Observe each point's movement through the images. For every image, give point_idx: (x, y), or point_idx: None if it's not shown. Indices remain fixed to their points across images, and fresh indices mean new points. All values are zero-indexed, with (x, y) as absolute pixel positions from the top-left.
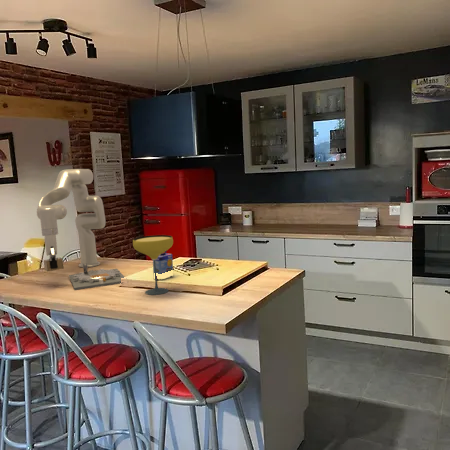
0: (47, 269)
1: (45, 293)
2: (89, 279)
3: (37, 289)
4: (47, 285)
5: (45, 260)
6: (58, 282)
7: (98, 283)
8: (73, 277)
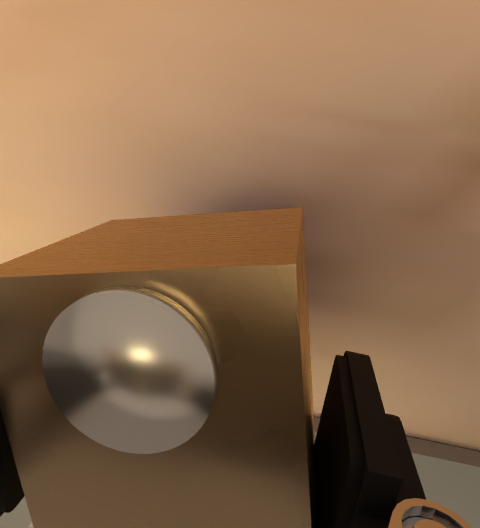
0: (92, 230)
1: (17, 107)
2: None
3: (258, 60)
4: (371, 199)
5: (100, 293)
6: (415, 327)
7: (5, 526)
8: None
